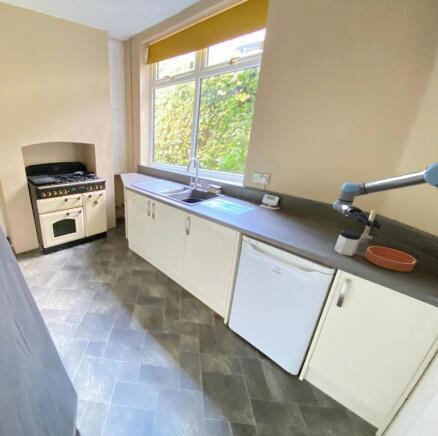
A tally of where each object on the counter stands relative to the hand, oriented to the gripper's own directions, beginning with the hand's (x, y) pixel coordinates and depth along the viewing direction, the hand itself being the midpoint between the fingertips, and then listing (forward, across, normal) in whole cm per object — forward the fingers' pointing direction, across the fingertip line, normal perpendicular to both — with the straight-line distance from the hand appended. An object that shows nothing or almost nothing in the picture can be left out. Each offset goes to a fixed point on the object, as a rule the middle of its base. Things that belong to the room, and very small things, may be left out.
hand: (376, 226), depth 122 cm
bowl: (+9, -4, -16) cm, 19 cm away
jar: (+2, +12, -16) cm, 20 cm away
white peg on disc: (-6, 0, -11) cm, 12 cm away
